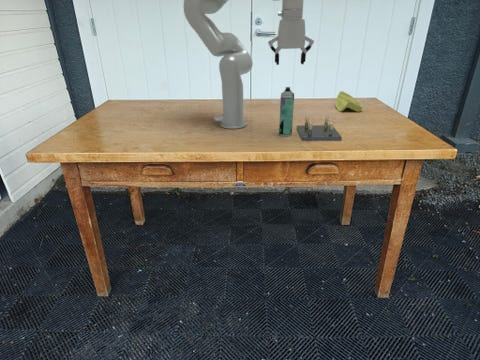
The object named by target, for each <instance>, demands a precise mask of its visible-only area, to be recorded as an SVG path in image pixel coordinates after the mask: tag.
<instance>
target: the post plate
mask: <svg viewBox="0 0 480 360" xmlns="http://www.w3.org/2000/svg"><path fill="white" fill-rule="evenodd" d="M329 117H330V116H329V115H326V116H325V118H324V125H323V124H322V125H321V124H317V125H316V124H313V122H312V121H310V117H309V116H308V115H307V116H305V122H304V123H305V124H304V125H302V124H301V125H296V131H297V132H298V134H299V137H300V138H301V139H300V140H301V141H303V142H306V141H307V142H308V141H309V142H310V141H313V142H314V141H316V142H317V141H318V142H319V141H320V142H321V141H324V142H325V141H326V142H327V141H329V142H330V141H335V142H336V141H342V138H343V137H342V135H341V134H340V133H339V132H338V130H337V129H336V128H335V127H334V124H335V123H334V121H330V122H329ZM309 121H310V122H309Z"/></svg>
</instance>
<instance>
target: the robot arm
mask: <svg viewBox="0 0 480 360" xmlns="http://www.w3.org/2000/svg"><path fill="white" fill-rule="evenodd" d="M228 1H229V0H183V14H184V17H185V19H186V21H187V23H188V24H189V26H190V27H191V28H192V29H193V30H194V32H195V33H196V34H197V36H198V37H199V39H200V41H202V43H203V45H204V46H205V47H206V49H207V50H208V51H209V53H210V54H211V55H212V56H213V57H217V58H218V57H220V58H221V59H220V60H219V63H218V68H219V74H220V75H219V76H220V79H221V94H222V95H221V96H222V115H220V116H213V121H215V122H218V123H219V122H220V123H219V126H220V127H221V128H225V129H227V130H228V129H231V130H236V129H237V130H238V129H243V128H245V127H246V126H247V124H248V122H247V121H246V120H244V84H243V80H242V76H241V75H245V74H248V73H249V72H250V71H251V70H252V68H253V58H252V57H251V55H250V53H249V52H248V50H247V49H246V48H245V46H244V44H243V43H242V42H241V40H240V39H239V38H238V37H237V36H236V35H235V33H234V34H233V33H231V32H222V31H220V29H219V28H218V27H217V25H216V24H215V22H214V21H212V20H211V19H210V17H208V16H207V15H213V14H216V13H217V12H218V11H220V10H221V9H222V8H223V7H224V6H225V4H227V3H228ZM274 1H276V2H278V1H279V0H273V2H274ZM281 1H282V3H281V4H282V5H281V6H282V7H281V11H277V16H278V17H281V19H279V24H278V31H277V35H276V37H273V38H272V39H270V40H268V42H267V44H268V46H269V48H270V50H271V51H272V52H273V53H274V63H275V65H276V66H278V65H280V53H279V52H280V51H281V50H283V49H286V50H287V49H288V50H289V49H290V50H291V49H300V50H301V54H300V64H301V65H304V63H305V62H306V59H307V58H306V57H307V53H308V51H310V50H311V48H312V47H313V45H314V43H315V40H313V39H312V38H310V37H308V36H306V20H305V18H303V14H304V0H281ZM275 42H276V43H277V47H276V48H275V46H274V45H273V44H274V43H275ZM306 42H308V45H307V46H306V47H305V45H306Z"/></svg>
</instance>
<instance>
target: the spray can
mask: <svg viewBox="0 0 480 360" xmlns="http://www.w3.org/2000/svg"><path fill="white" fill-rule="evenodd" d="M294 103H295V92H293V91H292V90H291V86H287V87H285V89H284V91H283V92H281V93H280V105H279V109H280V110H279V128H278V135H279V136H281V137H292V135H293V119H294V109H295V108H294V106H295V105H294Z"/></svg>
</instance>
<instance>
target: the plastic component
mask: <svg viewBox="0 0 480 360" xmlns="http://www.w3.org/2000/svg"><path fill="white" fill-rule="evenodd" d="M334 105H335V108H336V109H337V111H338V112H339V113H341V112H344V111H345V110H346V109H347V108H348V109H350V110H352V111H355V112H356V113H360V112H361V111H362V109H363V106H362V104H360V102H359V101H358V100H357V99H356V98H355V97H353V96H352V95H351V94H348V93H346V92H344V91H341V90H340V92H339V93H338V95H337V97H336V99H335V103H334Z"/></svg>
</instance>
